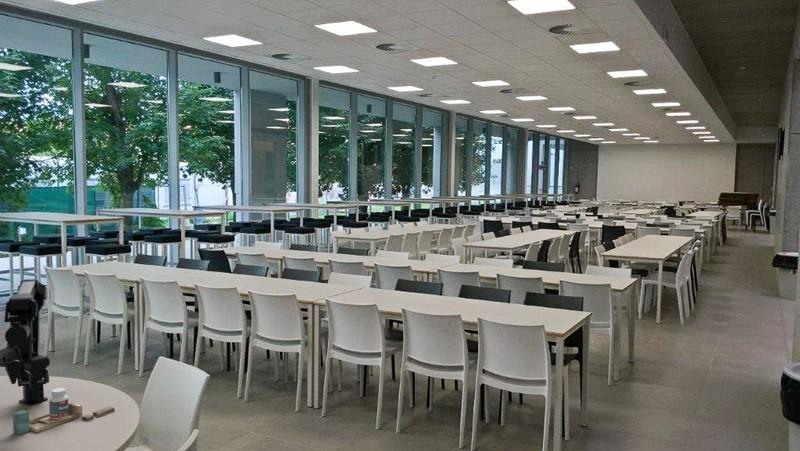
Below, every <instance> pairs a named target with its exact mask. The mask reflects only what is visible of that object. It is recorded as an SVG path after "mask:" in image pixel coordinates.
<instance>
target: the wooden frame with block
mask: <svg viewBox="0 0 800 451" xmlns="http://www.w3.org/2000/svg"><path fill="white" fill-rule="evenodd" d="M82 416H83V405H82V404H79V403H75V402H72V401H68V416H67V417H66V418H63V419H58V420H53V419H50V414H49V412H48V413H45V414H42V415H39V416H36V417H33V418H30V411H27V410H24V409H22V410H18V411H15V412H13V413H12V423H13V424H12V425H13V427H12V429H13V430H12V431H13V434H17V435H22V434H25V433H28V432H30V431H32V432H36V433H39V432H42V431H45V430H47V429H50V428H53V427H56V426H58V425H61V424H64V423H66V422H69V421H72V420H74V419H78V418H80V417H82ZM37 422H40V423H45V424H44V425H41V426H36V425H33V424H34V423H37Z"/></svg>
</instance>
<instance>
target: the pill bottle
mask: <svg viewBox="0 0 800 451" xmlns="http://www.w3.org/2000/svg"><path fill="white" fill-rule="evenodd" d="M66 390H67V389H66V388H64V387H58V388H54V389H51V396H50V397H49V402H48V404H49V408H48V410H49V412H48V413H49V414H50V419H53V420H58V419H63V418H66V417H67V416H68V402H69V396H68V395H67V394H66Z"/></svg>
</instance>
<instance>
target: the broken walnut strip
mask: <svg viewBox="0 0 800 451" xmlns="http://www.w3.org/2000/svg"><path fill="white" fill-rule="evenodd" d="M114 412H115V407H112V406H106V407H103V408H101V409H98V410H95V411H93V412H92V415H91V414H88V413H87V414H85V415H82V416H81V420H84V421H86V422H89V421H91V420H94V418H95V417H98V418H100V417H102V416H104V415H108V414H111V413H114Z"/></svg>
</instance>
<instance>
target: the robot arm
mask: <svg viewBox="0 0 800 451" xmlns="http://www.w3.org/2000/svg"><path fill="white" fill-rule="evenodd" d="M47 298H48V290H47V286H46V285H45V284H43V283H42V282H39V279H36V278H31V279H29V278H27V279H20V284H19V285H18V286H17V294H15V295H11V296H10V297H9V298H8V301H6V303H5V312H4V320H3V322H4V323H10V324H9V327H8V329H6V331H5V334H4V339H5V342H6V347H4V348H2V349H0V368H4V370H5V371H6V373H7V376H8V379H9V381H10V384H11V385H15V384H17V387H19V388H20V387H22V398H23V399H19V400H18V402H19V403H22V404H25V405H29V406H32V405H35V404H39V403H41V402H45V401H47V400H48V399H49V398H48V397H47V396H45V389H44V385H46V384H49V383H50V374H49V370H48V367H49V366H51V358H49V357H48V356H44V355H40V324H41V323H40V322H41V321H40V320H41V319H40V318H41V317H40V316H41V315H40V314H41V311H42V310H43V308H44V307H45V305H46V301H47V300H48V299H47Z"/></svg>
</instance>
